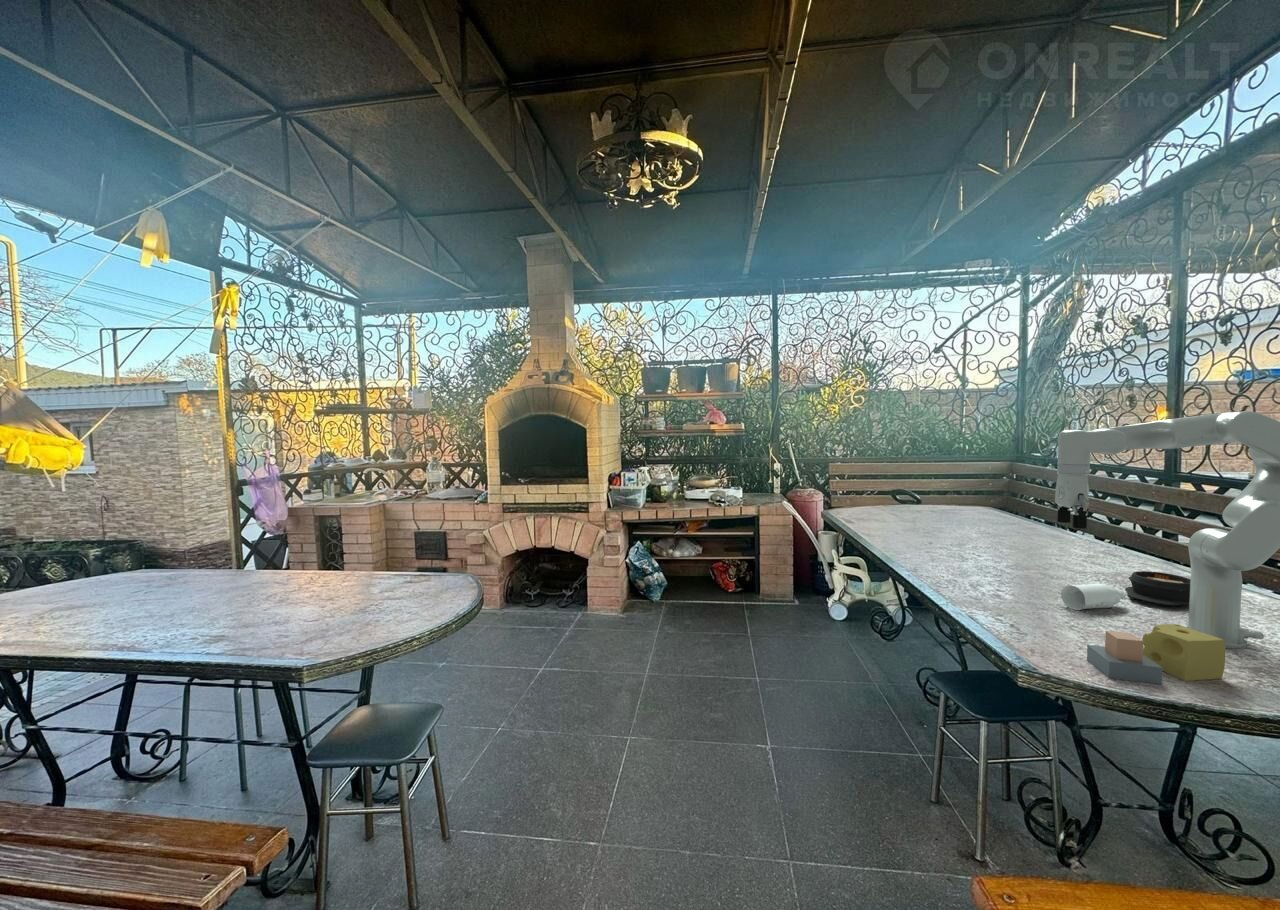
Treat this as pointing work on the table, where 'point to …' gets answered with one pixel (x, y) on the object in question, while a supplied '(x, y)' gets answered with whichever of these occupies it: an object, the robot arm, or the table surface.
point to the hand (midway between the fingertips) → (1071, 525)
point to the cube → (1124, 646)
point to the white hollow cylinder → (1091, 596)
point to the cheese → (1185, 652)
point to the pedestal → (1124, 666)
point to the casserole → (1159, 588)
